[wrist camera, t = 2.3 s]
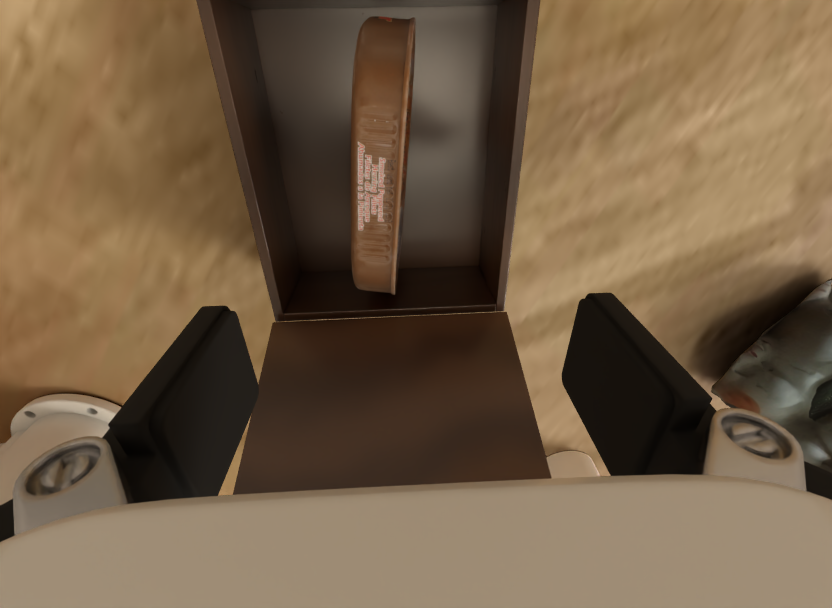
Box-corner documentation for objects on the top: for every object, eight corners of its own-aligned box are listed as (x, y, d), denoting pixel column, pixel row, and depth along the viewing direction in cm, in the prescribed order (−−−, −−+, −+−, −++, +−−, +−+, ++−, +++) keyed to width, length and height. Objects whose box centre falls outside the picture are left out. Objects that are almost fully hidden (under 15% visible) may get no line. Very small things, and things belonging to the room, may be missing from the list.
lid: (172, 750, 13) (182, 746, 14) (616, 713, 14) (609, 710, 14) (272, 322, 25) (275, 328, 26) (506, 311, 26) (505, 318, 26)
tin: (399, 261, 30) (402, 321, 23) (359, 259, 30) (348, 319, 23) (417, 26, 23) (429, 7, 16) (363, 20, 22) (349, -2, 15)
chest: (240, -3, 22) (189, -27, 16) (506, -7, 23) (544, -32, 17) (296, 276, 31) (275, 321, 26) (484, 268, 32) (504, 311, 26)
